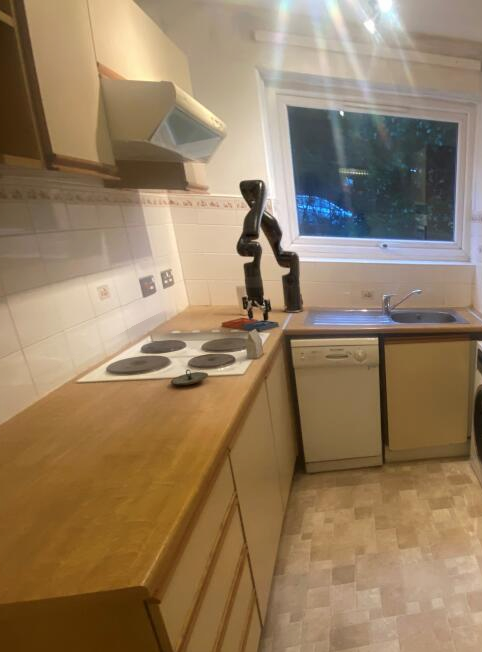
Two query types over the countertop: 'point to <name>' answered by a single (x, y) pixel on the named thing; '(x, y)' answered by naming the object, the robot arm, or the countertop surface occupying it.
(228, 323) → the terracotta tray
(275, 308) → the countertop surface
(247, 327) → the slate tray
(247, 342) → the grey stone block
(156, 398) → the countertop surface
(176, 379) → the lid
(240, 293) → the drinking glass
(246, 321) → the terracotta spoon
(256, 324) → the slate spoon
